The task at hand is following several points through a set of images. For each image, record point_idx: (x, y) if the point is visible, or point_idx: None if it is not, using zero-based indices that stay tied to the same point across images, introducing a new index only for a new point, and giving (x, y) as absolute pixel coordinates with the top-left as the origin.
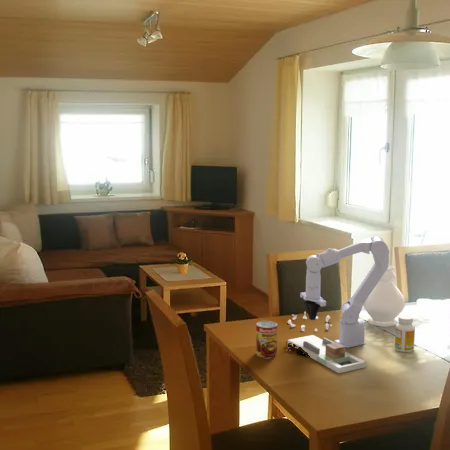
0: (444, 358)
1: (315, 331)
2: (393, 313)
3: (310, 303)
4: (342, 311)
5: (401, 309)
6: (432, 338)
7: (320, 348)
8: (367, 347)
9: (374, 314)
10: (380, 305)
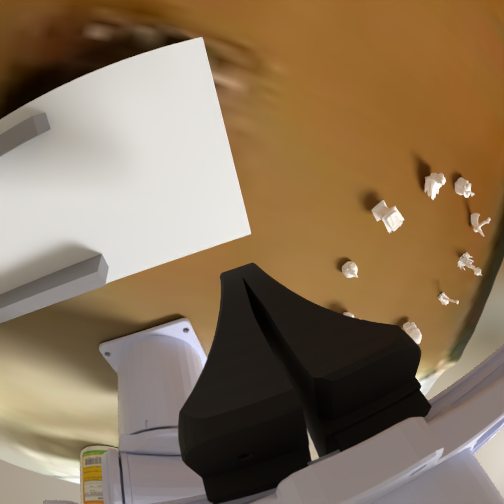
0: (59, 478)
1: (344, 264)
2: None
3: (246, 445)
4: (171, 495)
5: None
6: None
7: (9, 217)
8: (112, 400)
9: None
10: None
